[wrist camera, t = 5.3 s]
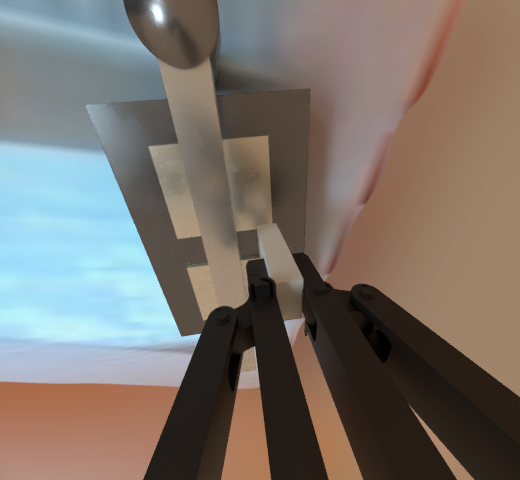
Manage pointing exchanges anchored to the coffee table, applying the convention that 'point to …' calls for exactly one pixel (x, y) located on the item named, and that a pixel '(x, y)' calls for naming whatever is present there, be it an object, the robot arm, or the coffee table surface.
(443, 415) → the robot arm
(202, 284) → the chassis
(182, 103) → the ball-tipped flat stick
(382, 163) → the coffee table surface
